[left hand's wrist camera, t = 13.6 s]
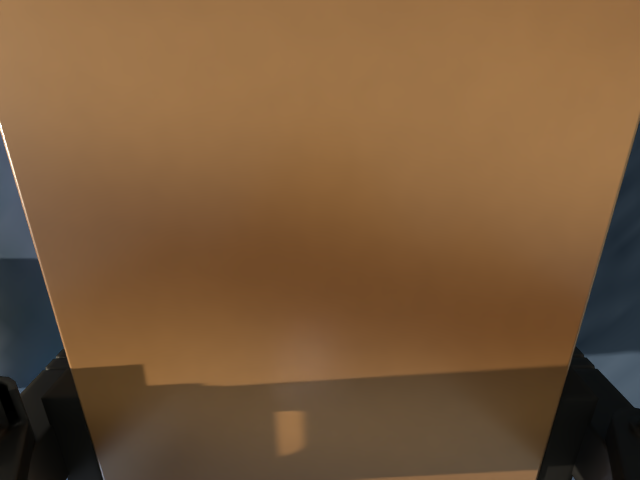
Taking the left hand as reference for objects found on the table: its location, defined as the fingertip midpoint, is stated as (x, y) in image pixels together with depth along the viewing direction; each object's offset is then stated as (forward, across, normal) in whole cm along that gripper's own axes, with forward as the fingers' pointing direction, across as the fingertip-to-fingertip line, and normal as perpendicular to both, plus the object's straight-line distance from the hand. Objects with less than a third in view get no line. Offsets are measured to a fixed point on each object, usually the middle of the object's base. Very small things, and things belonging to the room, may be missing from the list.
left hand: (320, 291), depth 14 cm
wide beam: (+1, 0, -22) cm, 22 cm away
